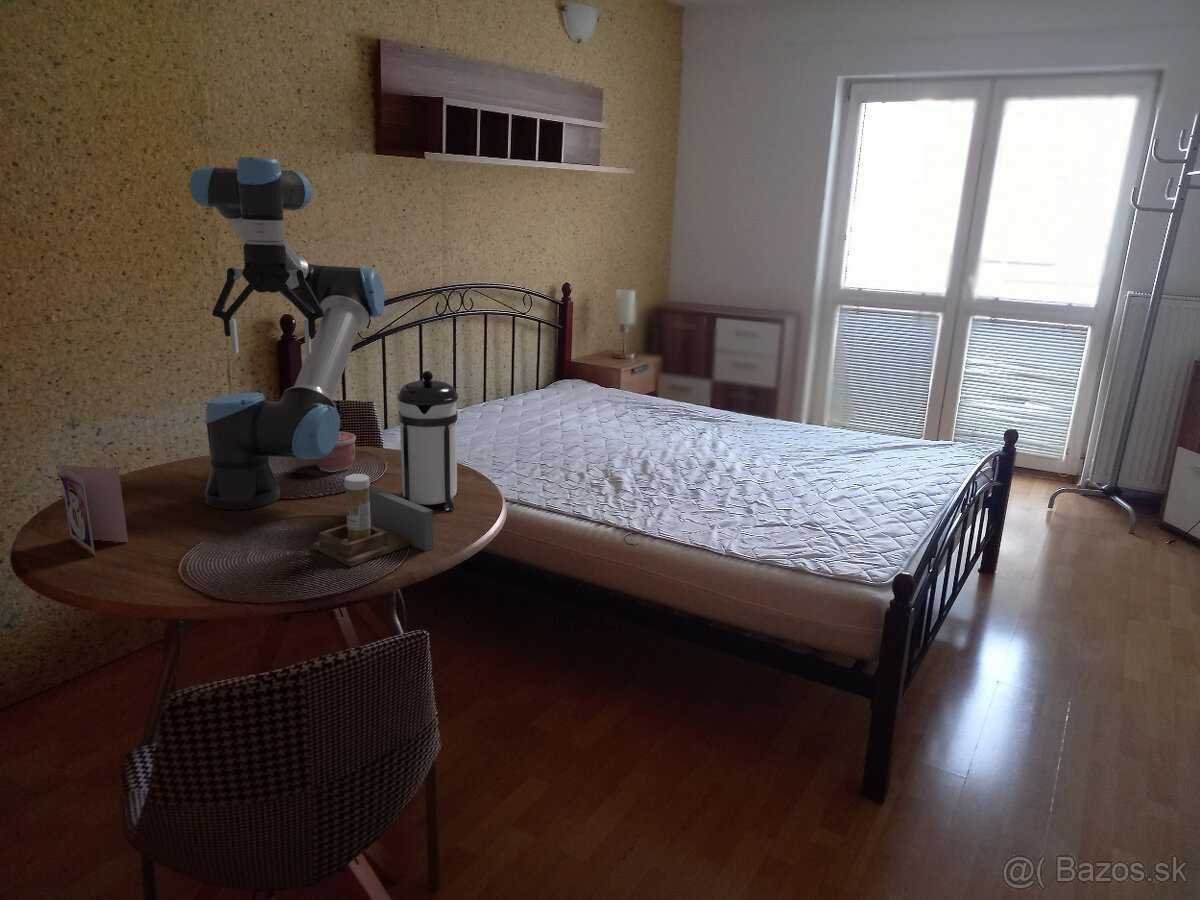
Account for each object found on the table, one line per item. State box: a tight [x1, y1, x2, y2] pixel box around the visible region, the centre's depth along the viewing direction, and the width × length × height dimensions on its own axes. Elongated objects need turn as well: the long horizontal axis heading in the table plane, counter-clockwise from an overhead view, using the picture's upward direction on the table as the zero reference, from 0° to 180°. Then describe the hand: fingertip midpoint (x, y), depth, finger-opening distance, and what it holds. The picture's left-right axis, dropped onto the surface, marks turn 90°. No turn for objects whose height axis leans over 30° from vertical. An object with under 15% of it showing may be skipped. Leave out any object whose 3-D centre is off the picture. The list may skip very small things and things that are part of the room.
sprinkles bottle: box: [343, 473, 371, 543], centre depth 158 cm, size 5×5×14 cm
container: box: [313, 430, 357, 471], centre depth 204 cm, size 10×10×8 cm
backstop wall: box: [369, 485, 434, 552], centre depth 165 cm, size 2×20×8 cm, turn 51°
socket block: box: [312, 523, 412, 567], centre depth 160 cm, size 14×12×4 cm
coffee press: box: [397, 370, 459, 512], centre depth 182 cm, size 17×16×30 cm
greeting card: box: [57, 464, 129, 555], centre depth 155 cm, size 11×7×15 cm, turn 51°
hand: (272, 353), depth 164 cm, fingers open, 13 cm apart
